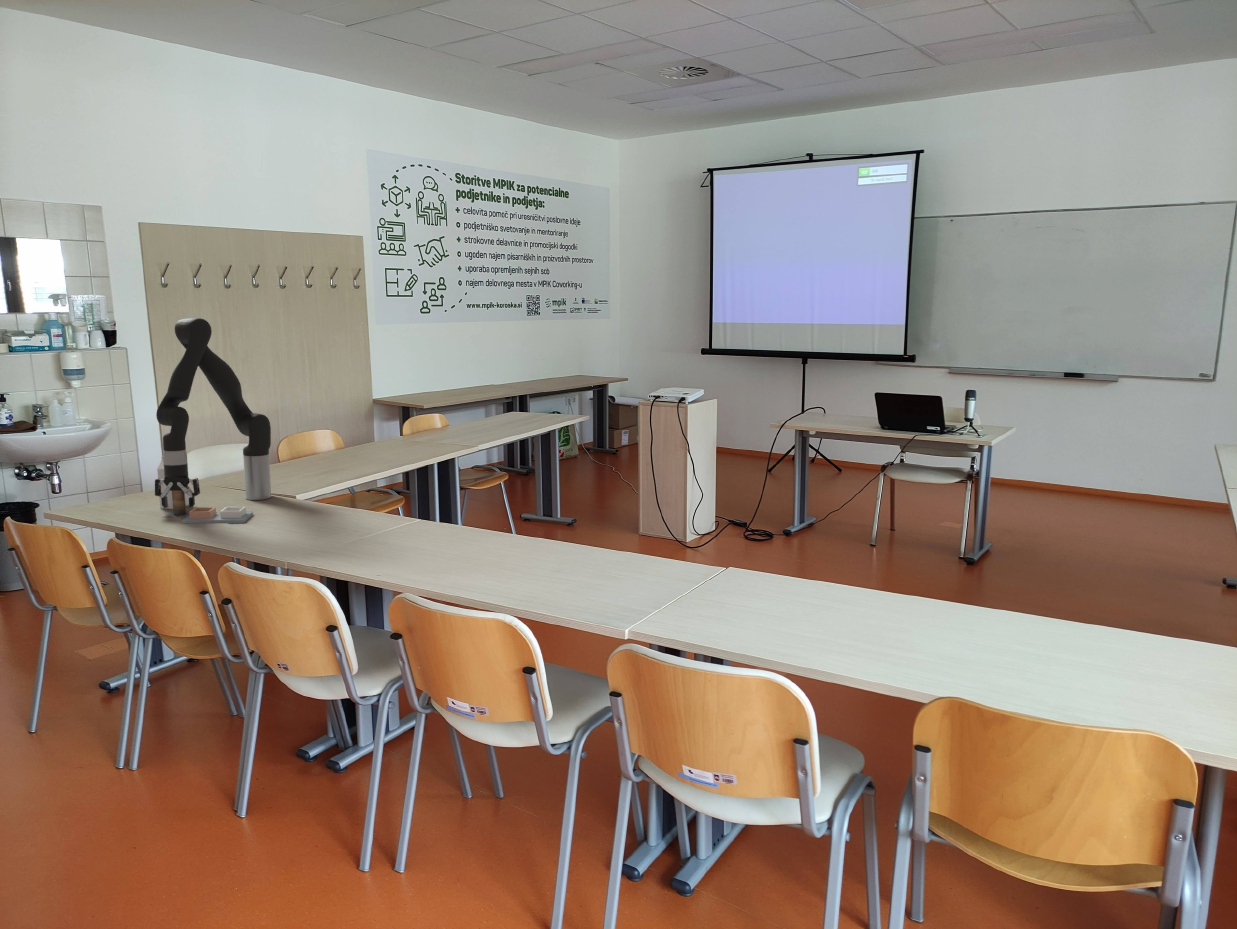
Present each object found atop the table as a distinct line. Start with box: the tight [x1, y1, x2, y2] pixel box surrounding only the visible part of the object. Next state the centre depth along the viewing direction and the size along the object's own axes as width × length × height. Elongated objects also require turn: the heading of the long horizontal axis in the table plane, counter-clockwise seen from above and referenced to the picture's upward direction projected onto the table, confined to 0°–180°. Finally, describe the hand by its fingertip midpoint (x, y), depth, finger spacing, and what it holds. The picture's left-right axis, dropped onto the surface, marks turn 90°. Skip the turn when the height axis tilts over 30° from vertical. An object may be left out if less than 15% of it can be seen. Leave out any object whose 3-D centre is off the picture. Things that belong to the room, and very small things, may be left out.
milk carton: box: [156, 456, 189, 510], centre depth 313 cm, size 7×7×19 cm
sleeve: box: [172, 490, 187, 516], centre depth 302 cm, size 4×4×9 cm
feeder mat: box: [161, 510, 191, 519], centre depth 303 cm, size 9×9×1 cm
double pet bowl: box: [181, 506, 254, 524], centre depth 298 cm, size 12×20×4 cm, turn 99°
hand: (178, 507), depth 302 cm, fingers open, 8 cm apart
